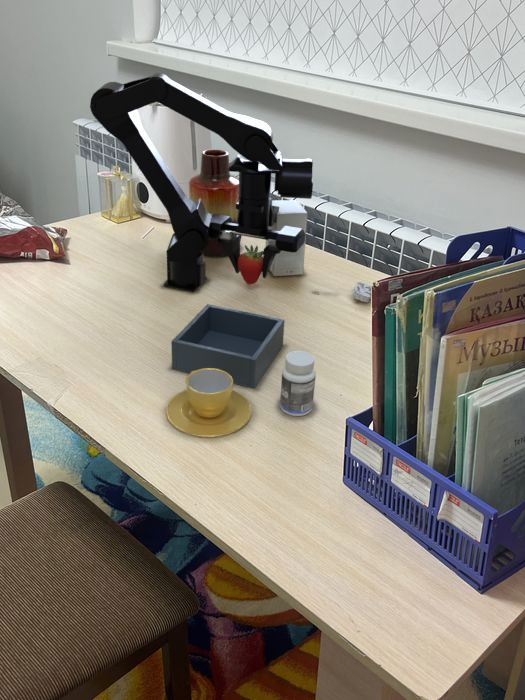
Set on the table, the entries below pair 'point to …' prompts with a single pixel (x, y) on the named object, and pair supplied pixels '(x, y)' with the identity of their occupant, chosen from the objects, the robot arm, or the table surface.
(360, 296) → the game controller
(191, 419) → the cup
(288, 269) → the small box
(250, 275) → the fruit
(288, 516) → the table surface
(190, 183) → the vase
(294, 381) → the pill bottle
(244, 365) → the box
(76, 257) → the table surface
